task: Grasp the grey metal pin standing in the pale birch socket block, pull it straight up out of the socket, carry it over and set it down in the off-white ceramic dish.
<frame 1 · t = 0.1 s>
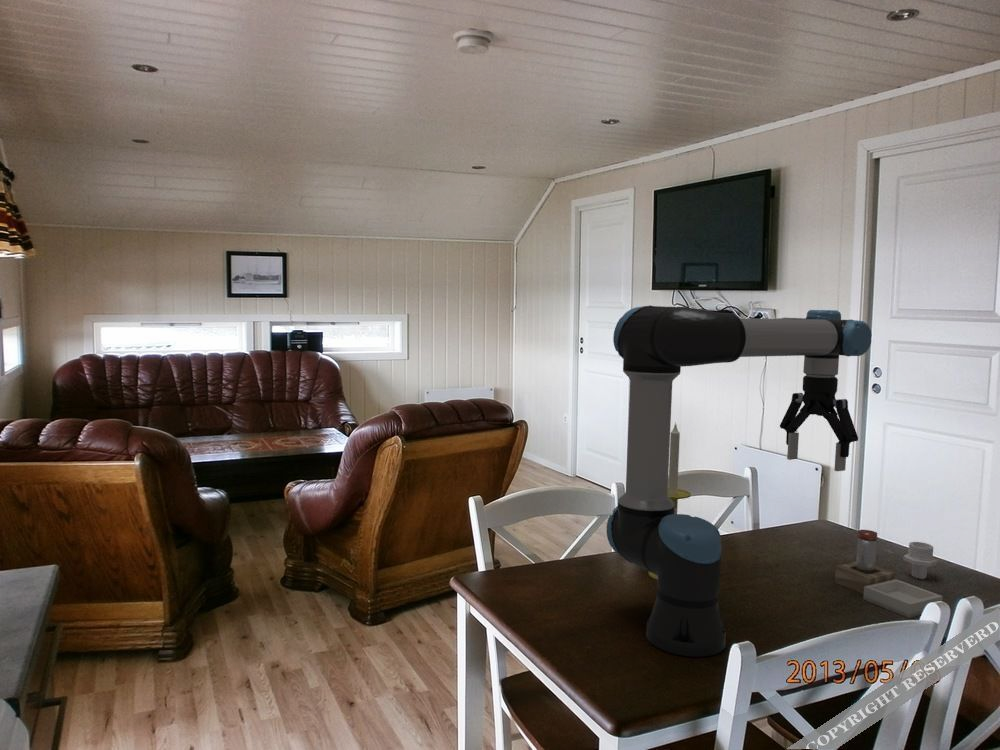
hand: (815, 464, 177), 28 cm above the table, fingers open, 13 cm apart
dish: (901, 604, 165), on the table
socket block: (864, 585, 176), on the table
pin: (865, 559, 175), in the socket block
pipe fitting: (918, 577, 183), on the table
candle: (669, 576, 181), on the table
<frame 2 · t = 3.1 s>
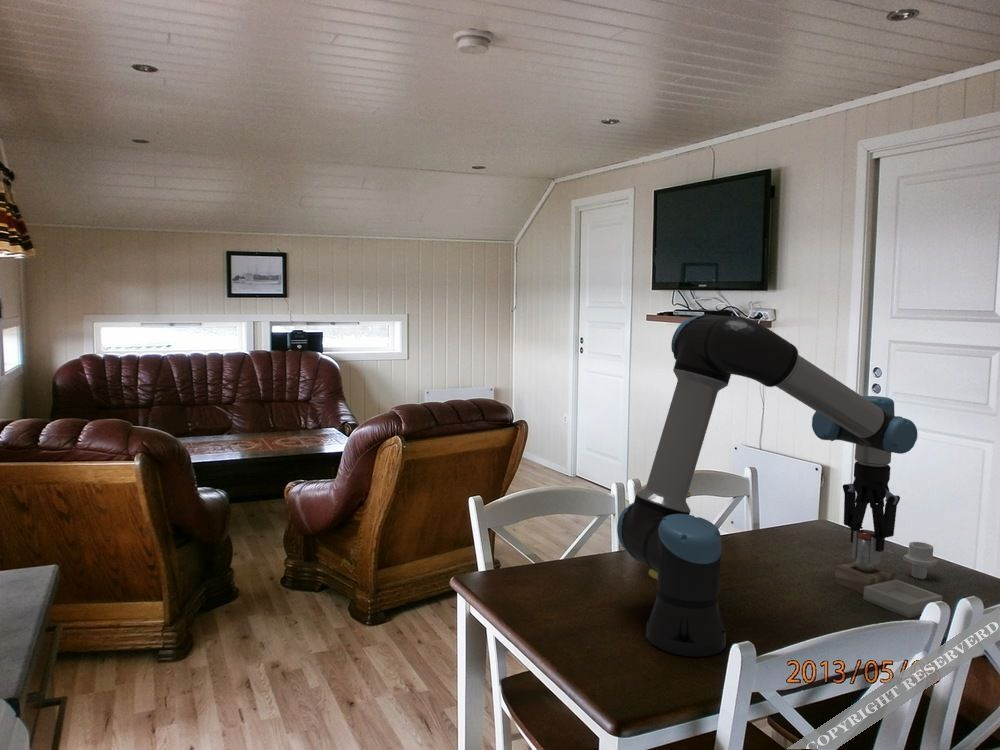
hand: (865, 560, 175), 6 cm above the table, fingers closed on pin, 4 cm apart
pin: (865, 559, 175), in the socket block, touching gripper
everything else where it was.
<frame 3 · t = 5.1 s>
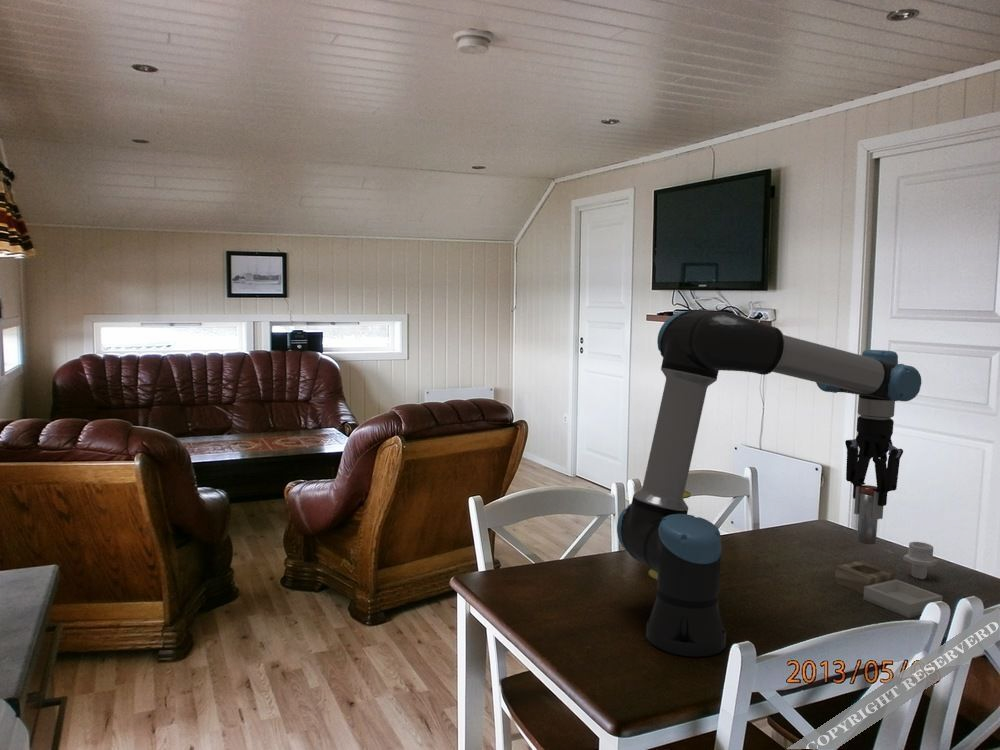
hand: (868, 515, 174), 17 cm above the table, fingers closed on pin, 4 cm apart
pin: (868, 514, 174), point 17 cm above the table, touching gripper
everything else where it was.
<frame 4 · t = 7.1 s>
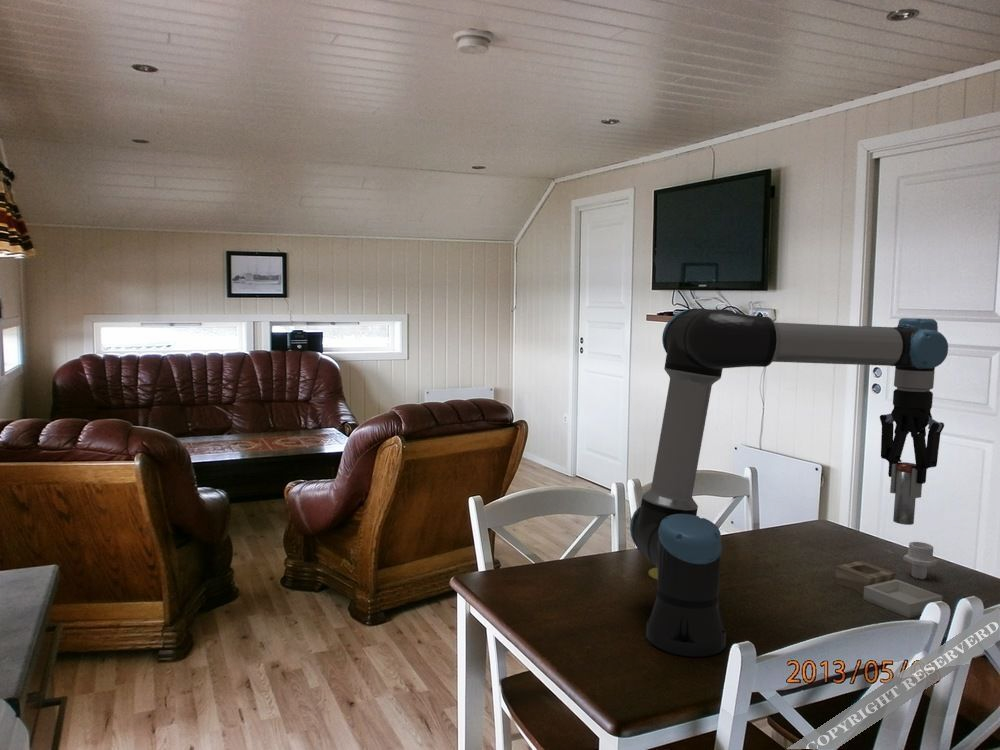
hand: (905, 494, 164), 25 cm above the table, fingers closed on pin, 4 cm apart
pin: (905, 493, 164), point 25 cm above the table, touching gripper
everything else where it was.
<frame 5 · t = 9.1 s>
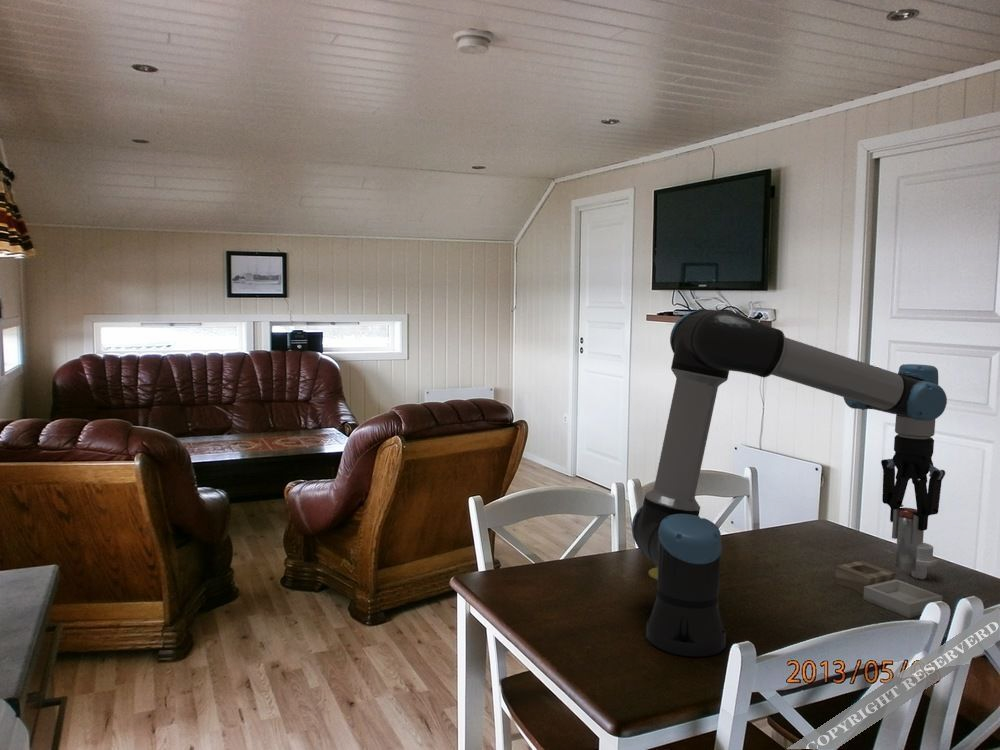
hand: (907, 540, 164), 15 cm above the table, fingers closed on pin, 4 cm apart
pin: (907, 539, 164), point 15 cm above the table, touching gripper
everything else where it was.
when the fingers open (8 cm above the table, at t = 11.0 s): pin drops 1 cm, resting on dish.
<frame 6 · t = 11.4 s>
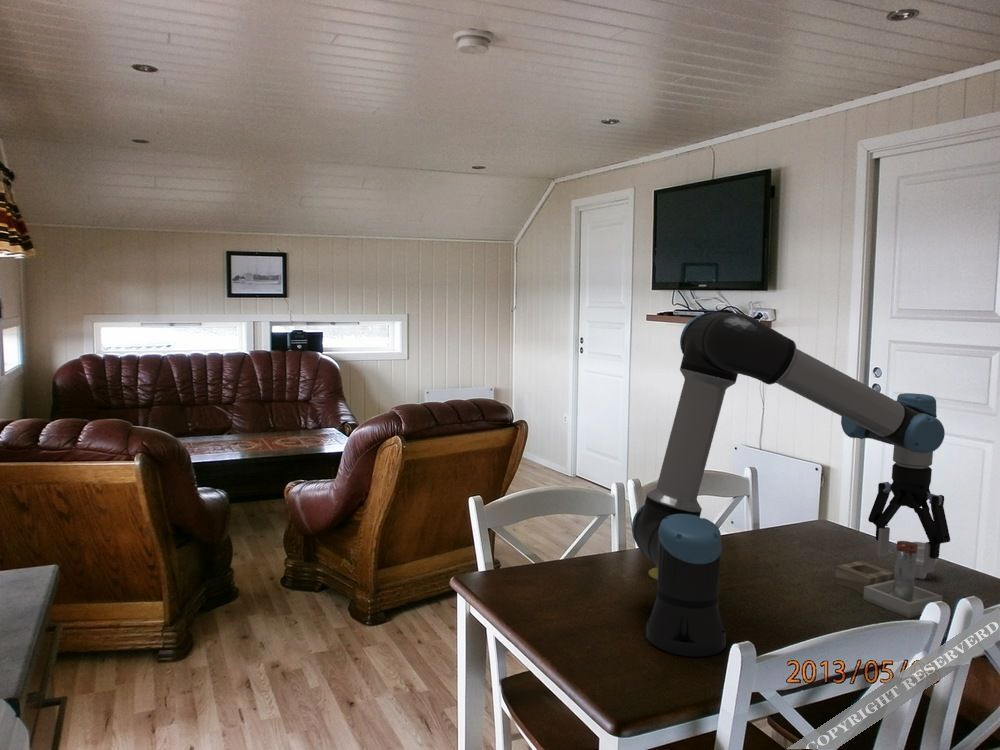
hand: (904, 563, 164), 9 cm above the table, fingers open, 10 cm apart
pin: (904, 572, 165), in the dish, point 7 cm above the table
everything else where it was.
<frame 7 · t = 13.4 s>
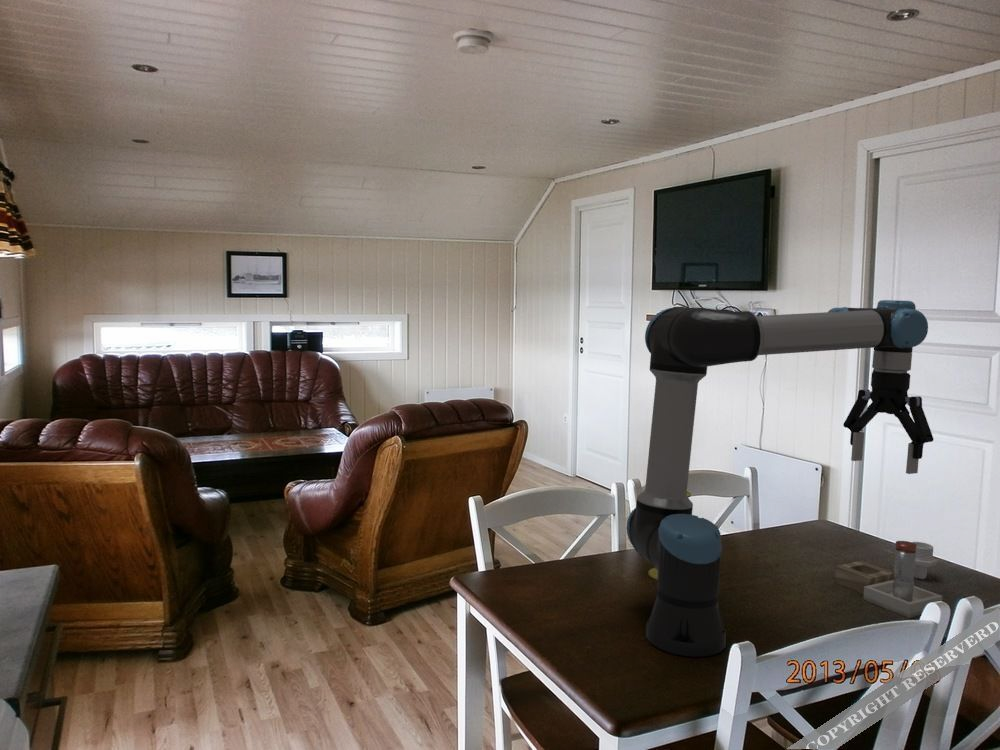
hand: (883, 466, 165), 30 cm above the table, fingers open, 13 cm apart
nothing on the table moved.
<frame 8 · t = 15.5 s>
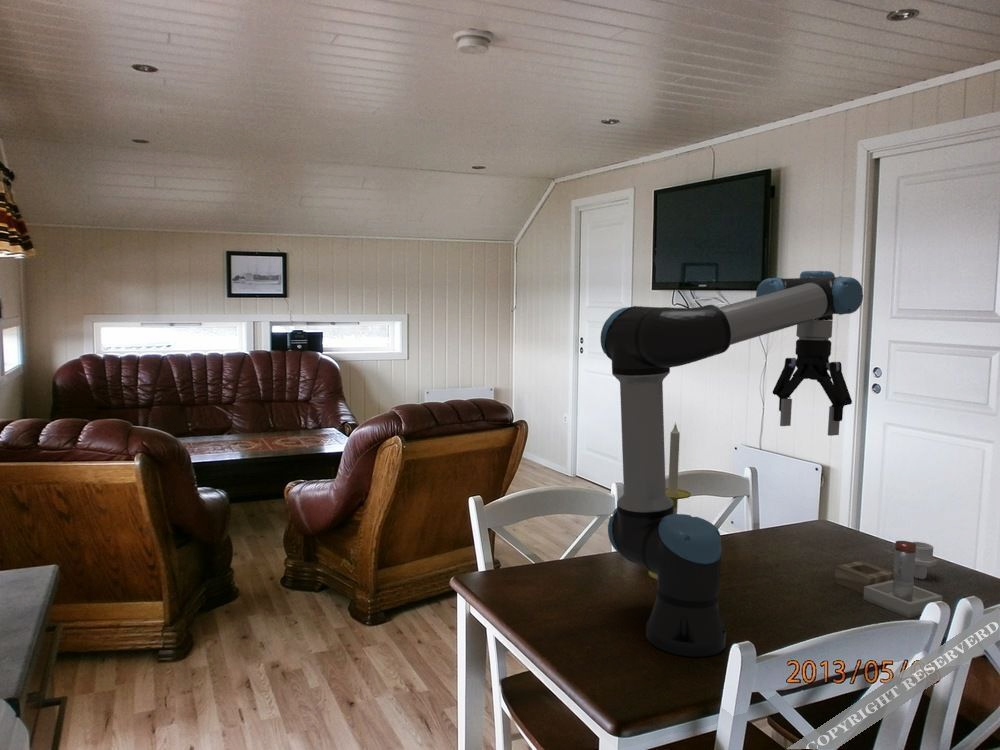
hand: (808, 430, 173), 37 cm above the table, fingers open, 13 cm apart
nothing on the table moved.
at the end: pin inside the target area on the dish (0.0 cm from its centre), point 7.3 cm above the dish's base; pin touching dish; the gripper is holding nothing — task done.
